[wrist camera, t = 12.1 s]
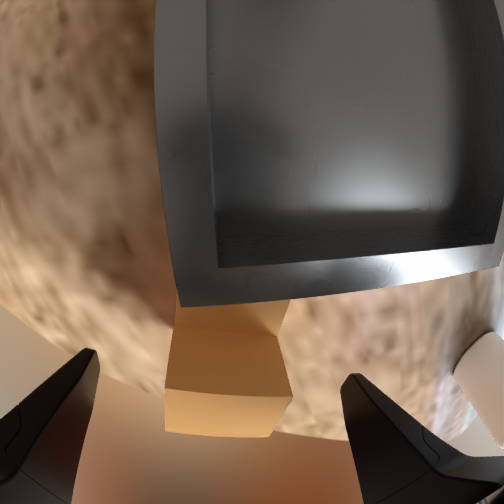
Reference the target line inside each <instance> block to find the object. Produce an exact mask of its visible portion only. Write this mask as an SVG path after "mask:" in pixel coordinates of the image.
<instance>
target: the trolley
mask: <svg viewBox="0 0 504 504" xmlns="http://www.w3.org/2000/svg"><path fill="white" fill-rule="evenodd" d="M154 95H155V117H156V134H157V147H158V159H159V170H160V179H161V188H162V197H163V205H164V213H165V220H166V227H167V234H168V241H169V247H170V253H171V259H172V265H173V271H174V276H175V282H176V287H177V292H178V297H179V302H180V307H181V308H186V307H203V306H218V305H232V304H245V303H257V302H268V301H278V300H288V299H298V298H307V297H316V296H324V295H332V294H340V293H348V292H356V291H363V290H370V289H377V288H383V287H390V286H396V285H403V284H409V283H415V282H421V281H426V280H432V279H437V278H443V277H448V276H453V275H458V274H463V273H468V272H473V271H478V270H483V269H487V268H492V267H496V266H499V264H500V261H501V258H502V254H503V251H504V0H156V5H155V26H154Z"/></svg>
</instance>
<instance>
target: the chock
mask: <svg viewBox="0 0 504 504" xmlns="http://www.w3.org/2000/svg"><path fill="white" fill-rule="evenodd" d="M289 302H290V299H288V300H278V301H268V302H257V303H245V304H232V305H218V306H203V307H186V308H181V307H180V302H179V297H178V292H177V297H176V308H175V320H174V328H173V334H172V341H171V347H170V353H169V360H168V367H167V374H166V382H165V431H169V432H176V433H184V434H195V435H206V436H223V437H269V435H270V434H271V432H272V431H273V429H274V428H275V426H276V424H277V423H278V421H279V420H280V418H281V416H282V415H283V413H284V411H285V410H286V408H287V406H288V405H289V403H290V401H291V399H292V398H293V395H292V391H291V387H290V383H289V380H288V376H287V372H286V368H285V365H284V361H283V357H282V353H281V350H280V346H279V342H278V338H277V335H278V332H279V330H280V327H281V324H282V321H283V319H284V316H285V313H286V310H287V308H288V305H289Z"/></svg>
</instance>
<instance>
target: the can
mask: <svg viewBox="0 0 504 504" xmlns="http://www.w3.org/2000/svg"><path fill="white" fill-rule="evenodd" d="M454 378H455V380H456V381H457V383H458V384H459V386H460V387H461V389H462V390H463V392H464V393H465V395H466V396H467V398H468V399H469V401H470V402H471V404H472V405H473V407H474V409H475V410H476V412H477V413H478V415H479V416H480V418H481V419H482V421H483V423H484V424H485V426H486V427H487V429H488V431H489V432H490V434H491V436H492V437H493V439H494V441H495V442H496V444H497V445H498V447H499V448H501V449H503V450H504V340H503V339H502V338H501V337H500V336H499V335H498V334H497V333H496V332H487V333H485V334H483V335H482V336H481V337H479V338H478V339H477V340H476V341H475V342H474V343H473V344H472V345H471V346H470V347H469V348H468V349H467V350H466V351H465V352H464V354H463V355H462V356H461V358H460V359H459V361H458V363H457V364H456V366H455V369H454Z"/></svg>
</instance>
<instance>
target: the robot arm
mask: <svg viewBox="0 0 504 504" xmlns="http://www.w3.org/2000/svg"><path fill="white" fill-rule="evenodd" d="M99 373H100V364H99V360H98V355H97V352H96V350H93V349H89V348H84V349H83V350H81V351H80V352H79V353H78V354H76V355H75V356H74V357H73V358H72V359H70V360H69V361H68V362H67V363H66V364H65V365H63V366H62V367H61V368H60V369H58V370H57V371H56V372H55V373H54V374H53V375H51V376H50V377H49V378H48V379H47V380H45V381H44V382H43V383H42V384H41V385H40V386H39V387H37V388H36V389H35V390H34V391H33V392H32V393H30V394H29V395H28V396H27V397H26V398H25V399H23V400H22V401H21V402H20V403H19V405H17V406H15V407H14V408H13V409H12V410H11V411H10V412H8V414H6V415H5V416H4V417H3V418H1V419H0V504H71V500H72V495H73V488H74V483H75V479H76V474H77V469H78V464H79V460H80V455H81V451H82V447H83V443H84V439H85V435H86V432H87V428H88V424H89V421H90V417H91V414H92V410H93V404H94V399H95V393H96V388H97V383H98V378H99ZM340 393H341V400H342V407H343V413H344V420H345V426H346V430H347V434H348V438H349V442H350V446H351V450H352V454H353V458H354V462H355V466H356V471H357V475H358V480H359V484H360V488H361V493H362V498H363V502H364V504H504V456H493V457H472V456H467V455H465V454H463V453H461V452H459V451H458V450H457V449H455V448H453V447H452V446H450V445H449V444H447V443H445V442H444V441H443V440H441V439H440V438H438V437H437V436H436V435H434V434H433V433H432V432H430V431H429V430H428V429H427V428H425V427H424V426H423V425H421V424H420V423H419V422H418V421H417V420H416V419H414V418H413V417H412V416H411V415H409V414H408V413H407V412H406V411H405V410H403V409H402V408H401V407H400V406H399V405H397V404H396V403H395V402H394V401H393V400H391V399H390V398H389V397H388V396H387V395H385V394H384V393H383V392H382V391H381V390H379V389H378V388H377V387H376V386H375V385H374V384H372V383H371V382H370V381H369V380H368V379H366V378H365V377H364V376H363V375H362V374H360V373H352V374H350V375H349V376H348V377H347V379H346V380H345V382H344V383H343V385H342V386H341V389H340Z"/></svg>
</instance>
